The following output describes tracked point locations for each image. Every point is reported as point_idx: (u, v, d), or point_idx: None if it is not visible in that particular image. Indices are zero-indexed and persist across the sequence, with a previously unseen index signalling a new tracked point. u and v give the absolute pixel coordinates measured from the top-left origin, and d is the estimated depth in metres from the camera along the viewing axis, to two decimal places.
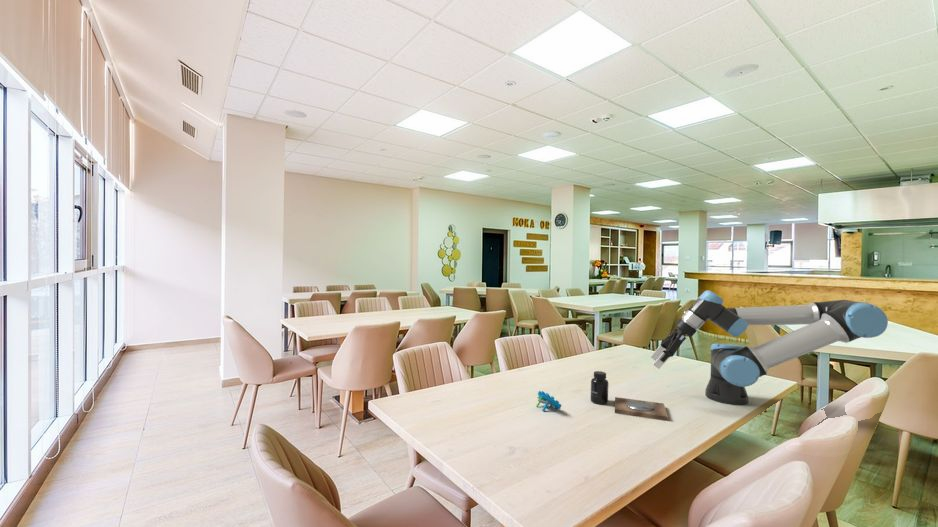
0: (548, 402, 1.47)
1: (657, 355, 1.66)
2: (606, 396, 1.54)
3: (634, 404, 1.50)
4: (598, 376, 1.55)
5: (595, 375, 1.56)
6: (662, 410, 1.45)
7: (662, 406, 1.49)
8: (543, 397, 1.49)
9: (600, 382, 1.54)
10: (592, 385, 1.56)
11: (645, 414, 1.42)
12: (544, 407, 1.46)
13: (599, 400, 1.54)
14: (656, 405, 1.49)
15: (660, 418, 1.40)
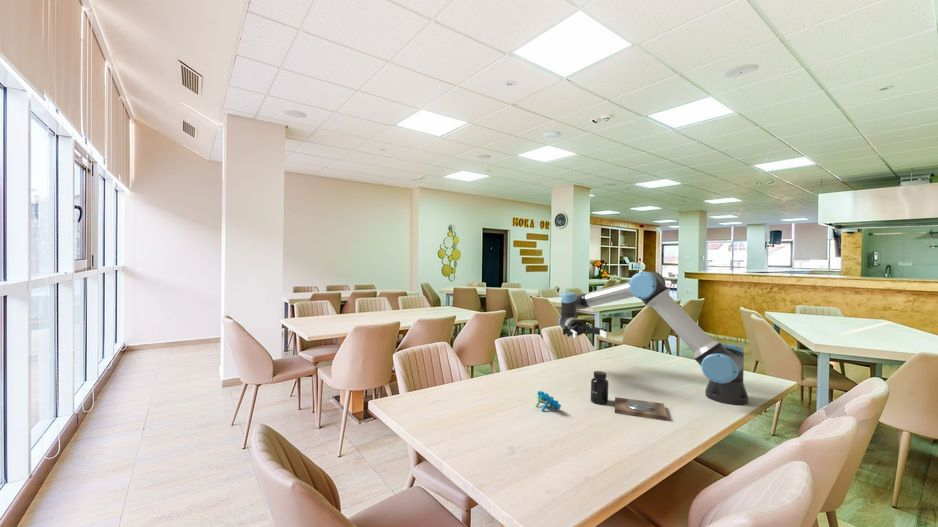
0: (547, 402, 1.47)
1: (603, 333, 1.69)
2: (606, 396, 1.54)
3: (634, 404, 1.50)
4: (598, 376, 1.55)
5: (595, 375, 1.56)
6: (662, 410, 1.45)
7: (662, 406, 1.49)
8: (543, 397, 1.49)
9: (600, 382, 1.54)
10: (592, 385, 1.56)
11: (645, 414, 1.42)
12: (543, 407, 1.46)
13: (599, 400, 1.54)
14: (656, 405, 1.49)
15: (660, 418, 1.40)
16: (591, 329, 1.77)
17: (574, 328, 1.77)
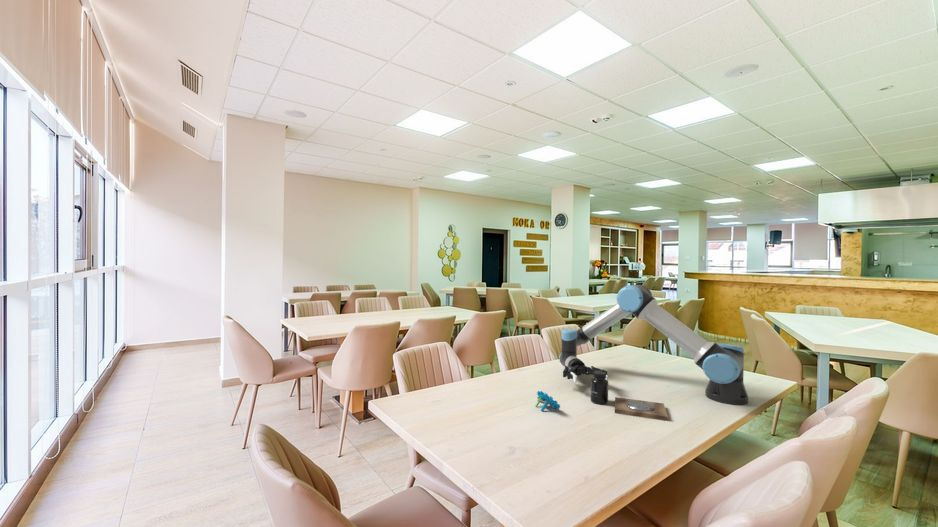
0: (547, 402, 1.47)
1: None
2: (606, 396, 1.54)
3: (634, 404, 1.50)
4: (598, 376, 1.55)
5: (595, 375, 1.56)
6: (662, 410, 1.45)
7: (662, 406, 1.49)
8: (542, 397, 1.49)
9: (600, 382, 1.54)
10: (592, 385, 1.56)
11: (645, 414, 1.42)
12: (543, 407, 1.46)
13: (599, 400, 1.54)
14: (656, 405, 1.49)
15: (660, 418, 1.40)
16: (592, 370, 1.75)
17: (574, 369, 1.75)
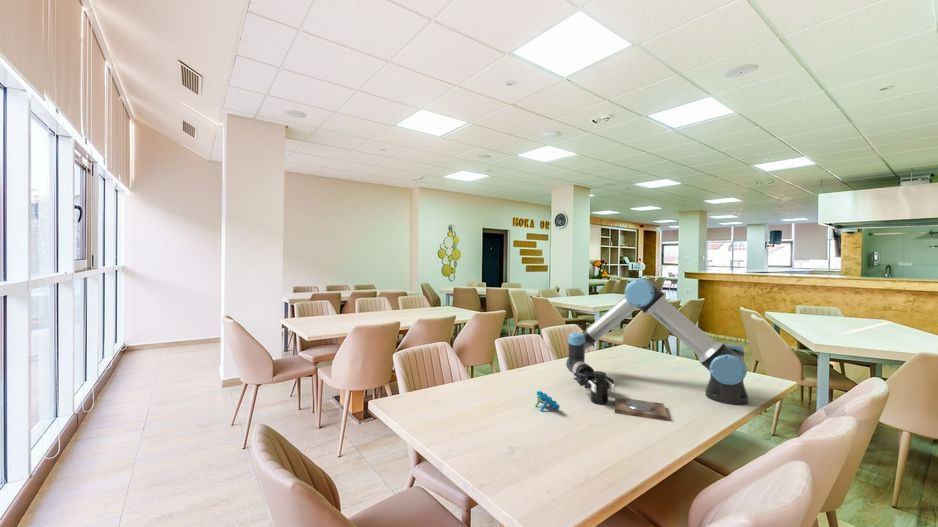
0: (546, 402, 1.47)
1: (610, 385, 1.55)
2: (606, 396, 1.54)
3: (634, 404, 1.50)
4: (598, 376, 1.55)
5: (595, 375, 1.56)
6: (662, 410, 1.45)
7: (662, 406, 1.49)
8: (542, 397, 1.49)
9: (600, 382, 1.54)
10: None
11: (645, 414, 1.42)
12: (542, 407, 1.46)
13: (599, 400, 1.54)
14: (656, 405, 1.49)
15: (660, 418, 1.40)
16: None
17: (587, 377, 1.64)
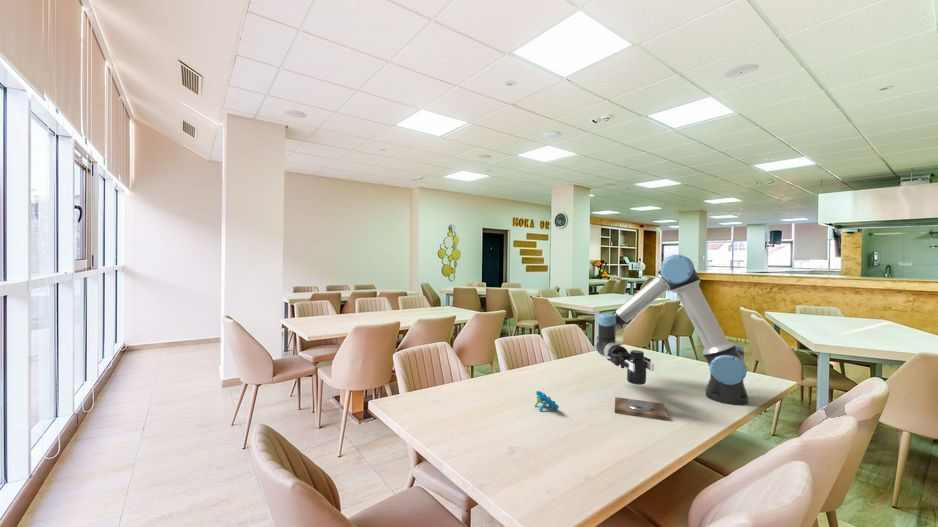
0: (545, 402, 1.47)
1: (648, 365, 1.47)
2: (644, 376, 1.47)
3: (634, 404, 1.50)
4: (635, 355, 1.47)
5: (632, 354, 1.48)
6: (662, 410, 1.45)
7: (662, 406, 1.49)
8: (541, 397, 1.49)
9: (638, 361, 1.46)
10: None
11: (645, 414, 1.42)
12: (541, 407, 1.46)
13: (637, 380, 1.46)
14: (656, 405, 1.49)
15: (660, 418, 1.40)
16: None
17: (622, 357, 1.56)
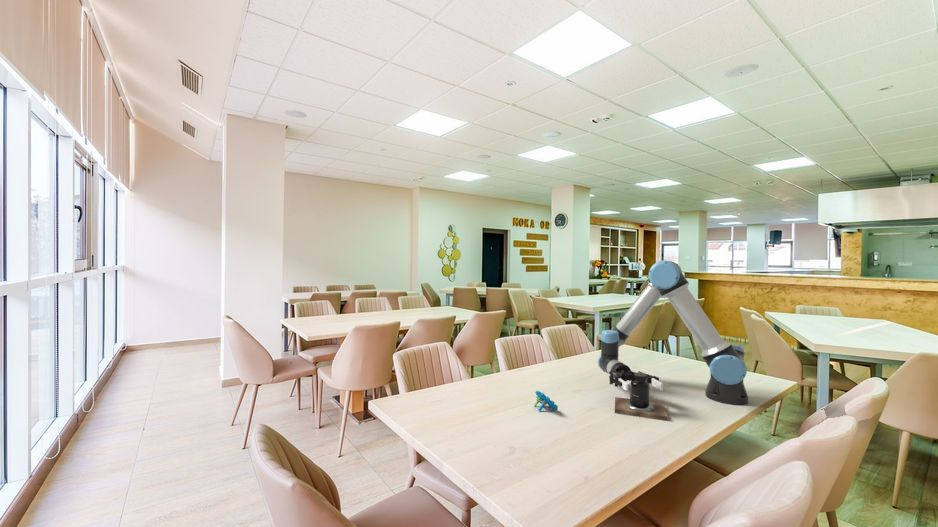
0: (545, 402, 1.47)
1: (657, 384, 1.48)
2: (647, 399, 1.46)
3: None
4: (639, 378, 1.47)
5: (635, 377, 1.48)
6: (662, 410, 1.45)
7: (662, 406, 1.49)
8: (540, 397, 1.49)
9: (641, 385, 1.46)
10: (632, 388, 1.48)
11: (645, 414, 1.42)
12: (540, 407, 1.46)
13: (640, 404, 1.46)
14: (656, 405, 1.49)
15: (660, 418, 1.40)
16: None
17: (621, 375, 1.56)
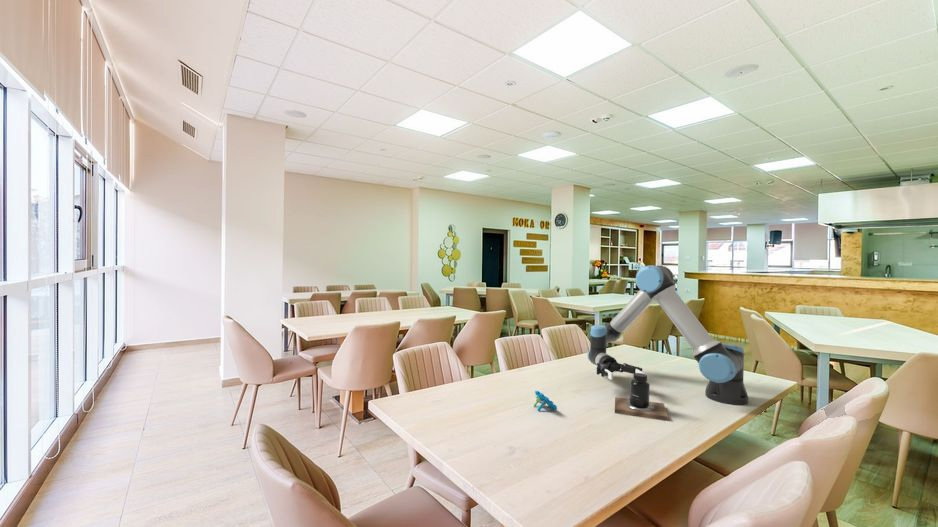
0: (544, 402, 1.47)
1: None
2: (647, 399, 1.46)
3: None
4: (639, 378, 1.47)
5: (635, 377, 1.48)
6: (662, 410, 1.45)
7: (662, 406, 1.49)
8: (540, 397, 1.49)
9: (641, 385, 1.46)
10: (632, 388, 1.48)
11: (645, 414, 1.42)
12: (539, 407, 1.46)
13: (640, 404, 1.46)
14: (656, 405, 1.49)
15: (660, 418, 1.40)
16: (625, 367, 1.69)
17: (608, 367, 1.69)
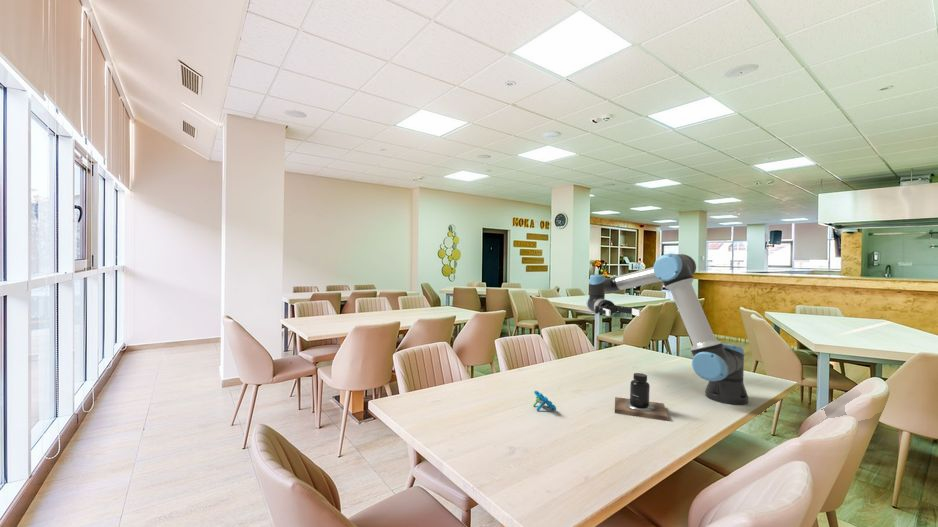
0: (543, 402, 1.47)
1: (636, 311, 1.70)
2: (647, 399, 1.46)
3: None
4: (639, 378, 1.47)
5: (635, 377, 1.48)
6: (662, 410, 1.45)
7: (662, 406, 1.49)
8: (539, 397, 1.49)
9: (641, 385, 1.46)
10: (632, 388, 1.48)
11: (645, 414, 1.42)
12: (538, 407, 1.46)
13: (640, 404, 1.46)
14: (656, 405, 1.49)
15: (660, 418, 1.40)
16: (622, 308, 1.78)
17: (605, 307, 1.78)
